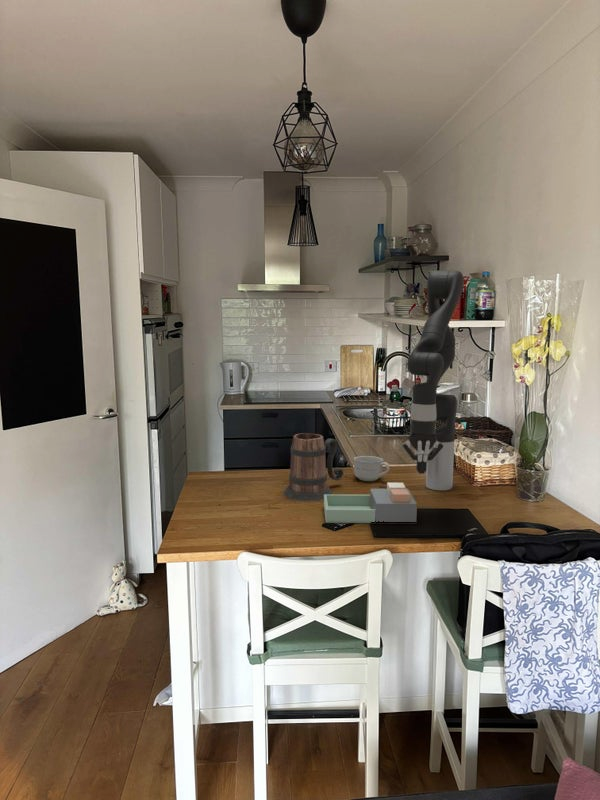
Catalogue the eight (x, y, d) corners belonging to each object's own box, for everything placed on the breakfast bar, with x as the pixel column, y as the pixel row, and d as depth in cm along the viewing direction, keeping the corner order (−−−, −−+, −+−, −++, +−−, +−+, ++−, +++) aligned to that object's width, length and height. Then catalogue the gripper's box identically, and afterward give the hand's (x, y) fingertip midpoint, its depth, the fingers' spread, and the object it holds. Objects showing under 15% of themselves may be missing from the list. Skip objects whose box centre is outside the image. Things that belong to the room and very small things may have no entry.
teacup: (347, 478, 213) (347, 457, 212) (367, 473, 220) (367, 452, 219) (375, 487, 203) (376, 465, 202) (395, 481, 210) (396, 460, 209)
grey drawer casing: (369, 506, 183) (370, 488, 182) (407, 506, 184) (408, 488, 183) (375, 523, 170) (376, 503, 169) (416, 523, 170) (417, 503, 169)
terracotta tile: (390, 496, 175) (390, 489, 174) (406, 497, 175) (406, 489, 174) (392, 502, 170) (392, 494, 169) (409, 502, 170) (409, 494, 169)
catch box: (323, 506, 183) (323, 494, 183) (369, 506, 183) (369, 494, 183) (325, 522, 170) (325, 509, 169) (375, 523, 170) (375, 510, 169)
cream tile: (386, 490, 181) (387, 482, 181) (402, 490, 181) (402, 482, 181) (389, 495, 176) (389, 487, 176) (405, 495, 176) (405, 487, 176)
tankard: (302, 504, 185) (303, 444, 182) (273, 491, 199) (273, 434, 195) (357, 491, 199) (358, 434, 196) (326, 479, 212) (327, 426, 209)
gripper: (442, 415, 179) (439, 469, 181) (399, 415, 178) (397, 469, 181) (448, 420, 171) (445, 476, 174) (404, 419, 171) (402, 476, 174)
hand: (421, 472), depth 177 cm, fingers closed
